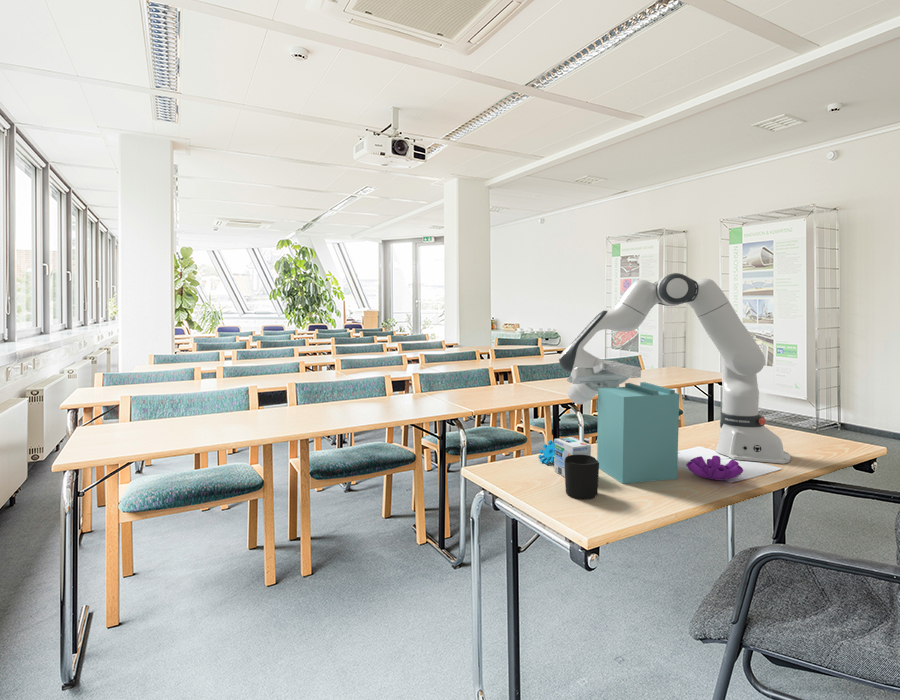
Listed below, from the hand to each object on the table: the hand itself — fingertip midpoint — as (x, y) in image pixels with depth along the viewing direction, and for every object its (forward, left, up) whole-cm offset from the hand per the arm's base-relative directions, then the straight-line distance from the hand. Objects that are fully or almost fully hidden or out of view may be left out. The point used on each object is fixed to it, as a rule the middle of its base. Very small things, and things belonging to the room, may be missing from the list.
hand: (610, 365), depth 170 cm
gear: (+17, +7, -33) cm, 38 cm away
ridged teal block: (-9, +4, -33) cm, 35 cm away
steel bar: (-4, +4, -2) cm, 6 cm away
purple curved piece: (-31, -3, -33) cm, 46 cm away
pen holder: (-1, +30, -33) cm, 45 cm away
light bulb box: (+7, +16, -33) cm, 38 cm away
